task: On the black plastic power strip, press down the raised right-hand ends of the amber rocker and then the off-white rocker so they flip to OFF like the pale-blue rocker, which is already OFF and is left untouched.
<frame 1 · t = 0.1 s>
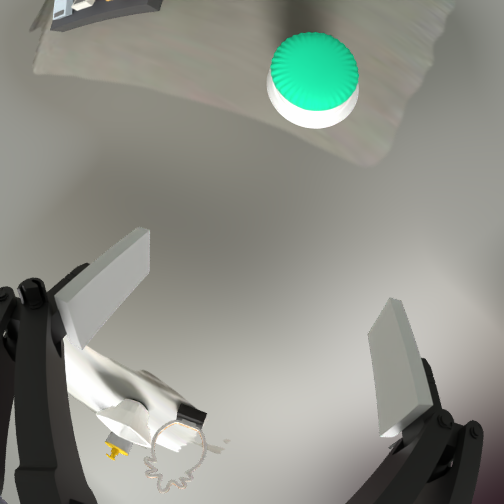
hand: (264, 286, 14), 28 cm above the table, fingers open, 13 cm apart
lamp: (193, 413, 78), on the table
soap bottle: (127, 427, 106), on the table
rocker blue: (63, 2, 22), point 6 cm above the table, hinge at 15.0°
bowl: (138, 404, 85), on the table
water bottle: (310, 101, 33), on the table
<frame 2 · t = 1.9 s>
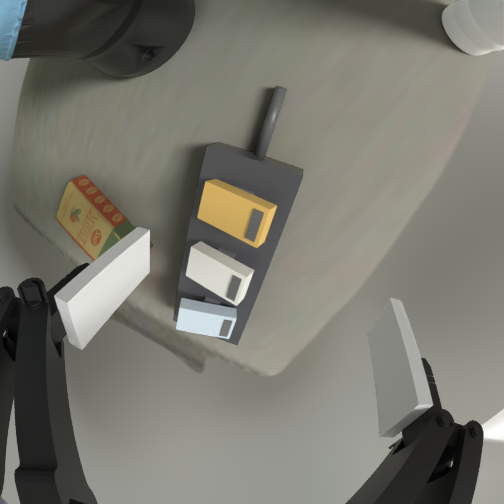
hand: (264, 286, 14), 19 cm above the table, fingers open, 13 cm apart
carton: (108, 224, 39), on the table
power strip: (232, 248, 35), on the table
rocker white: (217, 273, 30), point 6 cm above the table, hinge at -15.0°
rocker blue: (205, 319, 34), point 6 cm above the table, hinge at 15.0°
water bottle: (462, 31, 16), on the table
rocker amber: (234, 211, 26), point 6 cm above the table, hinge at -15.0°
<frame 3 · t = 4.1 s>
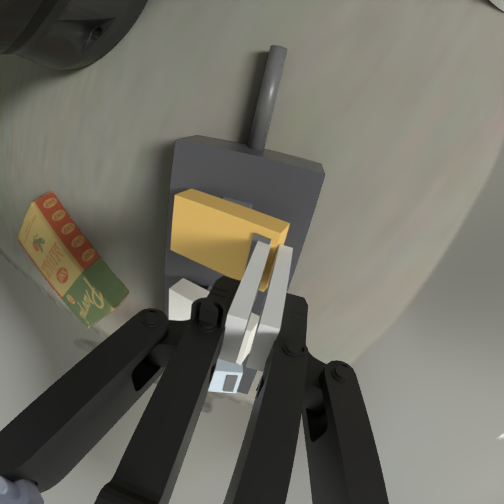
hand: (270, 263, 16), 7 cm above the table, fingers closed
carton: (78, 254, 30), on the table
power strip: (230, 279, 26), on the table
rocker white: (210, 322, 21), point 6 cm above the table, hinge at -15.0°
rocker blue: (203, 373, 24), point 6 cm above the table, hinge at 15.0°
rocker amber: (224, 237, 17), point 6 cm above the table, hinge at -13.4°, touching gripper
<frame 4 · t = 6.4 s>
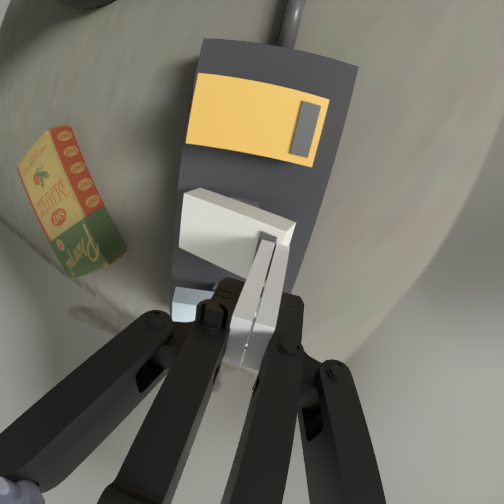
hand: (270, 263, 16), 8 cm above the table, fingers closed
carton: (79, 199, 27), on the table
power strip: (251, 205, 23), on the table
rocker white: (231, 235, 17), point 6 cm above the table, hinge at -14.9°, touching gripper
rocker blue: (217, 319, 21), point 6 cm above the table, hinge at 15.0°
rocker amber: (256, 117, 14), point 6 cm above the table, hinge at 11.3°
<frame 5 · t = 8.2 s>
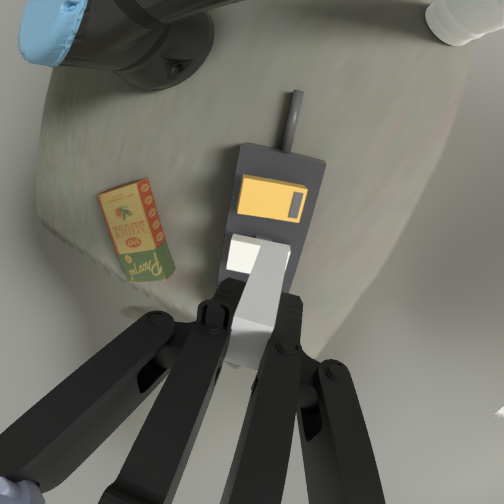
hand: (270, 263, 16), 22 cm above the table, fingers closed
carton: (143, 228, 43), on the table
power strip: (265, 238, 39), on the table
rocker white: (258, 257, 33), point 6 cm above the table, hinge at 7.6°
water bottle: (444, 26, 19), on the table
rocker amber: (271, 198, 30), point 6 cm above the table, hinge at 17.1°
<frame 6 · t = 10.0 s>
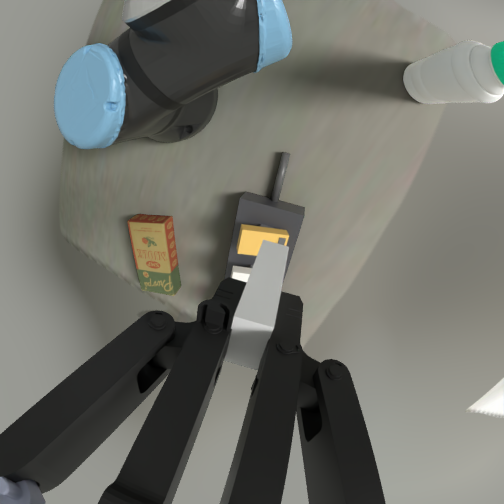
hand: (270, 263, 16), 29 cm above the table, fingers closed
carton: (160, 250, 54), on the table
power strip: (258, 263, 50), on the table
rocker white: (252, 281, 45), point 6 cm above the table, hinge at 16.1°
water bottle: (421, 83, 30), on the table
rocker amber: (262, 241, 41), point 6 cm above the table, hinge at 19.1°
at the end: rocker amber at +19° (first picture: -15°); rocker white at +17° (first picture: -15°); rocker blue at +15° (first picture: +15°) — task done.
